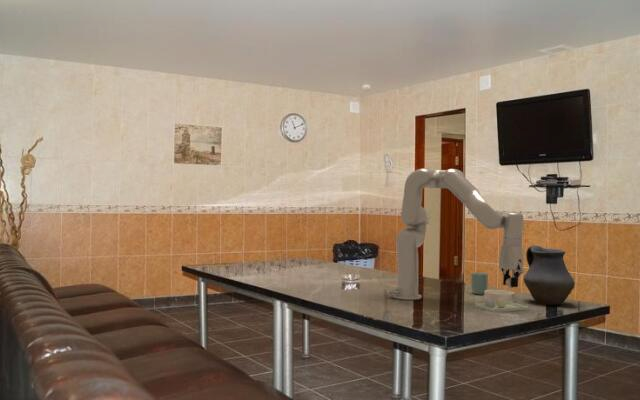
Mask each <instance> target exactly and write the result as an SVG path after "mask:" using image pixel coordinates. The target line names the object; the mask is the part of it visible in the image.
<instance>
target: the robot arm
mask: <svg viewBox="0 0 640 400" xmlns="http://www.w3.org/2000/svg"><path fill="white" fill-rule="evenodd" d="M424 188H428V189H448V190H449V191H450V192H451V193H452V194H453V195H454V196H455V197H456V198H457V199H458V201H460V202H461V203H462V204H463V205H464V207H466V209H467V210H468V211H469V212H470V213H471V214H472V215H473V217H475V218H476V220H478V222H480V223H481V224H482V225H483V226H484V227H485V228H487V229H488V230H496V229H503V234H502V235H503V236H502V237H503V239H502V244H501V246H500V252H499V256H498V257H499V259H498V266H499V267H498V268H499V269H500V270H501V272H502V276H503V279H502V280H503V281H502V285H503V286H506V283H505V282H506V280H507V279H508V278H511V287H513V288H518V287H519V278H520V276H521V275H522V274H523V273H524V272H525V271H524V248H523V231H524V215H523V214H522V213H520V212H505V211H504V212H503V211H498V210H494V208H492V207H491V205H489V204H488V203H487V202H486V201H485V200H484V198H483V197H482V196H481V193H480V191H479V189H478V188H476V186H474V185H473V184H472V182H470V181H469V180H468V179H467V178H466V176H465V174H464V173H463V171H462V170H459V169H456V168H449V169H431V168H427V167H426V168H425V167H424V168H418V169H416V170H414V171H412V172H411V173H410V174H409V175H408V176H407V178H406V180H405V183H404V189H403V196H402V197H403V199H402V204H401V213H400V219H401V222H402V224H403V225H405V226H406V228H404V229H401V230H400V231H399V232H398V234H397V235H396V238H395V245H396V253H397V255H396V257H397V258H396V259H397V264H396V265H397V268H396V269H397V271H396V274H397V275H396V277H397V278H396V279H397V281H396V286H395V287H394V288H393V289H387V291H386V293H387V294H388V295H393V298H394V299H397V300H398V299H399V300H406V301H407V300H408V301H415V300H420V299H421V300H422V297H423V296H422V295H421V294H419V251H418V250H419V249H418V248H420V247H421V246H423V243H424V242H425V238H426V232H427V231H426V230H427V223H428V215H427V211H426V209H425V208H424V207H423V206H422V205H423V204H422V202H423V190H424ZM510 274H511V275H510Z"/></svg>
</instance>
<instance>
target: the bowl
mask: <svg viewBox="0 0 640 400" xmlns="http://www.w3.org/2000/svg"><path fill="white" fill-rule="evenodd" d="M515 294H516V293H515V292H513V291H510V290H505V289H487V290H486V291H484V294H483V301H484V303H485V302H486V300H488V299H493V300H494V301H495V302H497V300H498V299H499V298H503V299H505V300H506V302H512V303H515V297H516V295H515Z"/></svg>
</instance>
